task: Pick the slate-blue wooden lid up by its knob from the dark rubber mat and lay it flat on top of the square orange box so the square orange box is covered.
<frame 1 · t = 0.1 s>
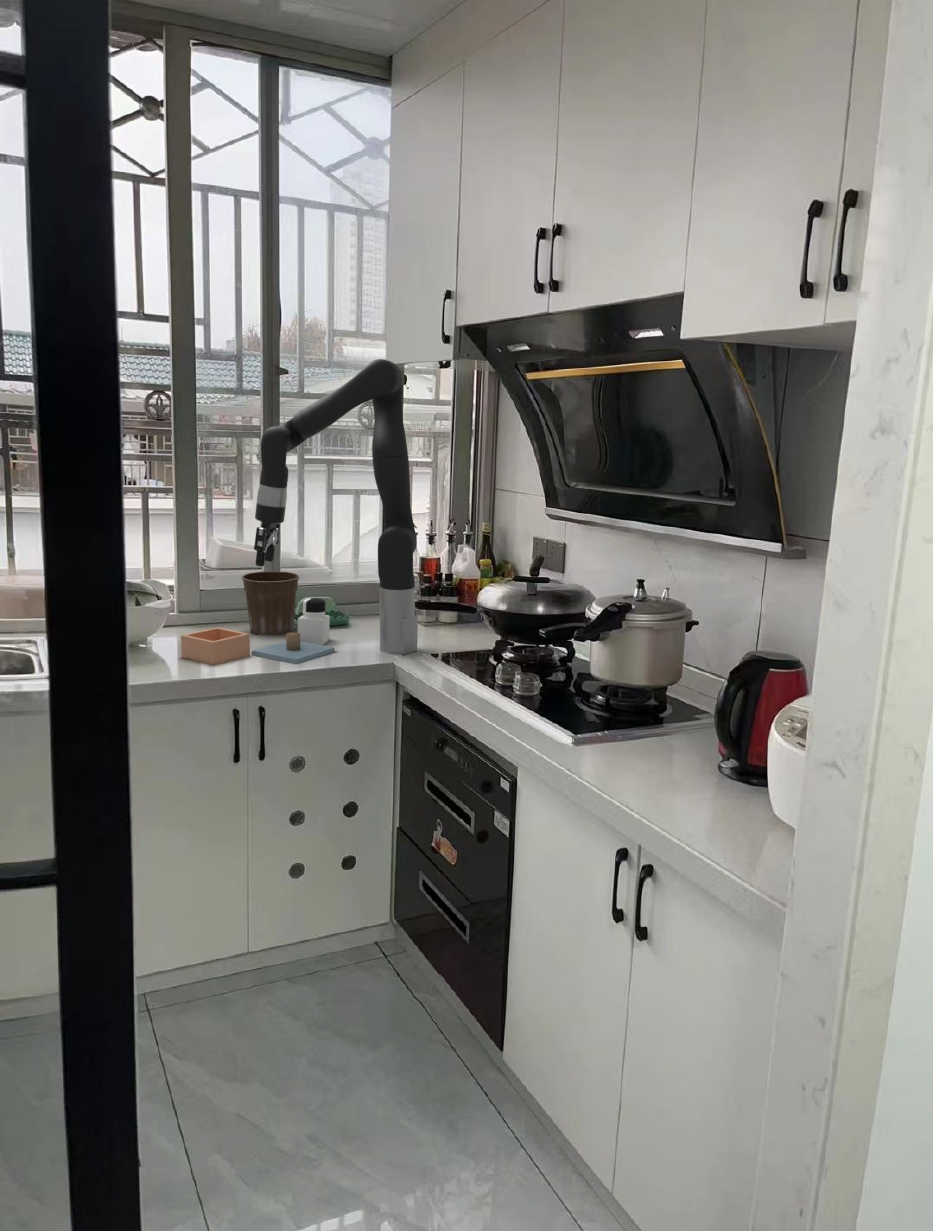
hand: (264, 563, 257), 22 cm above the countertop, tool pointing down, fingers open, 8 cm apart
square orange box: (216, 657, 247), on the countertop
medicine bottle: (313, 642, 265), on the countertop, touching mat
lid: (293, 653, 251), resting on mat
plant pot: (271, 631, 278), on the countertop
mat: (294, 654, 252), on the countertop
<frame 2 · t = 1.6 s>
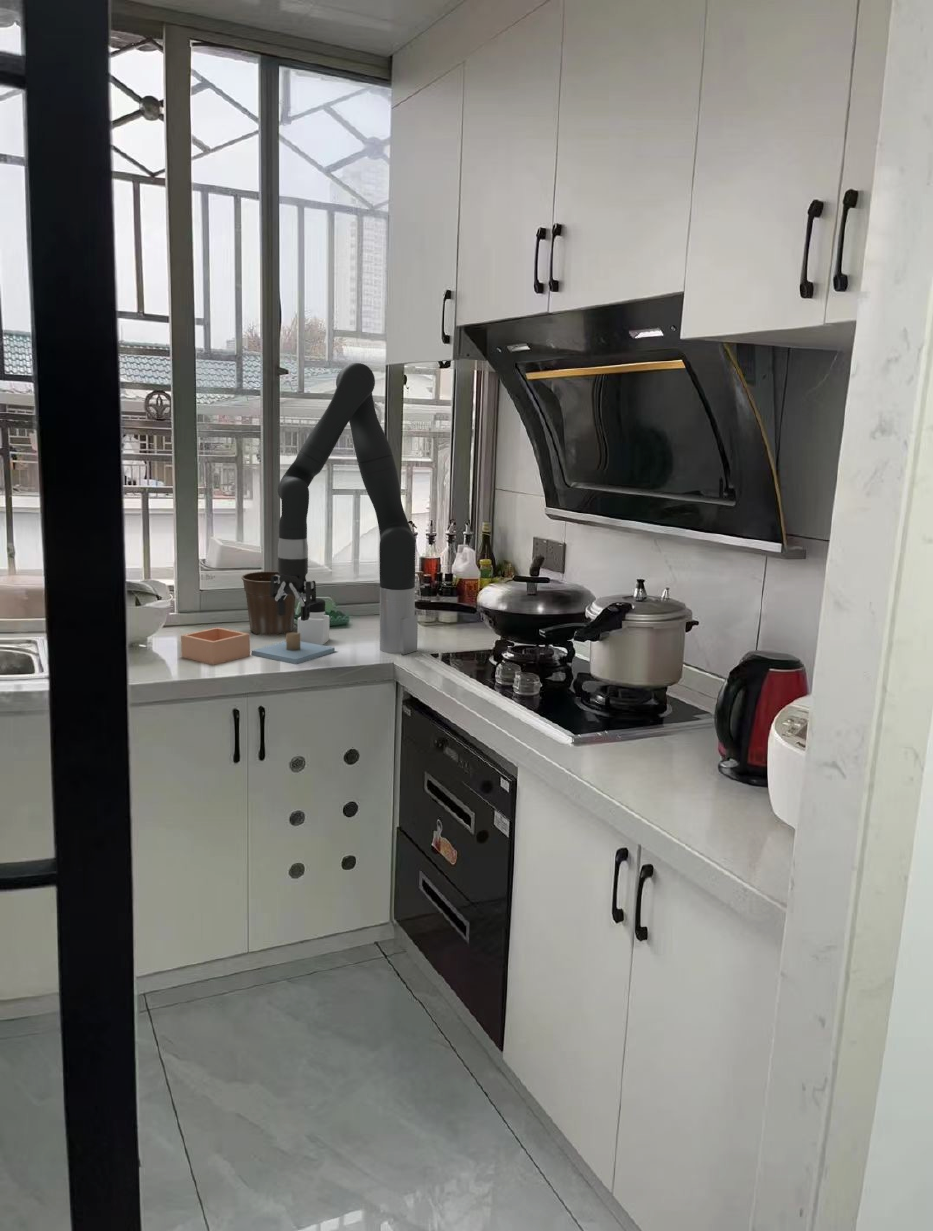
hand: (292, 617, 250), 10 cm above the countertop, tool pointing down, fingers open, 8 cm apart
nothing on the countertop moved.
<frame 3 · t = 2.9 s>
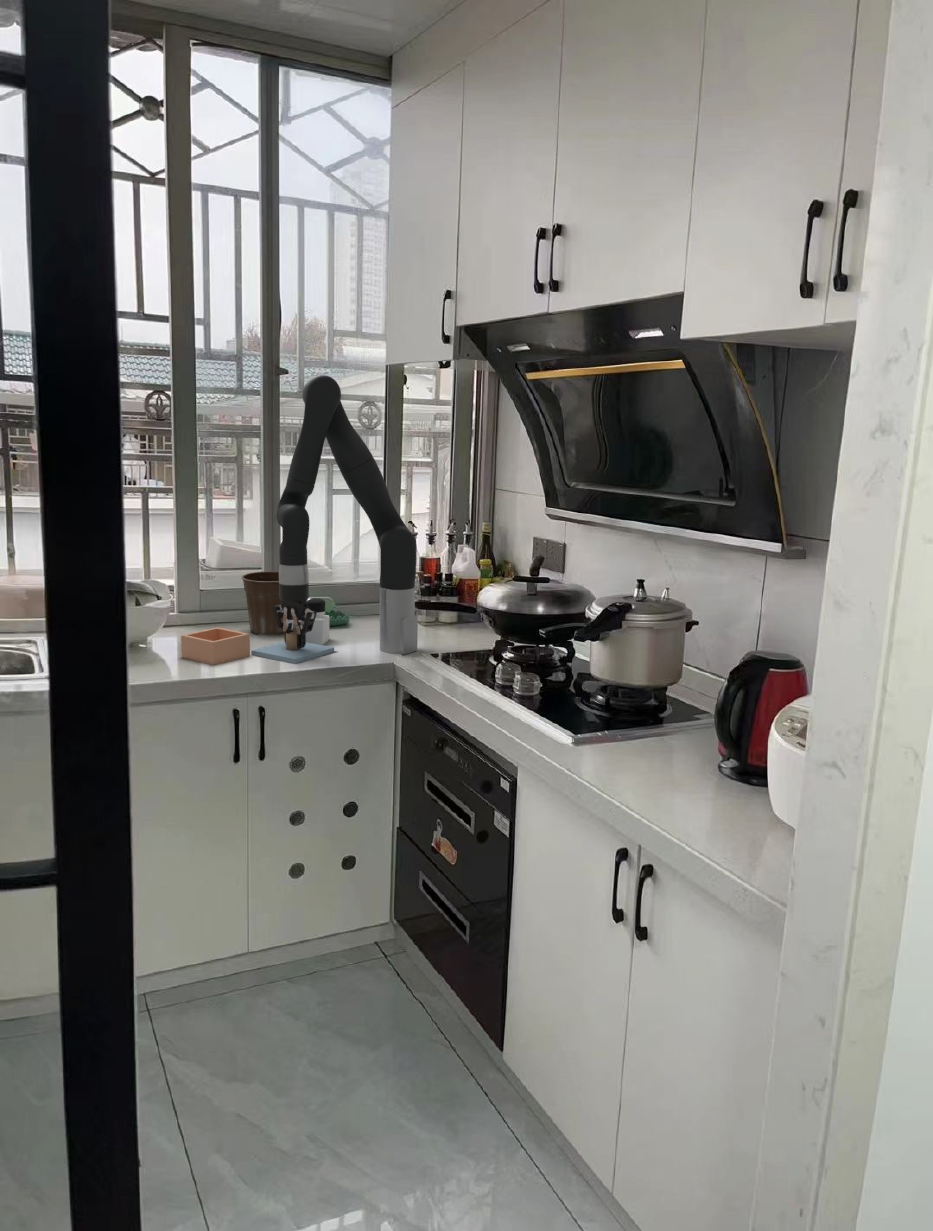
hand: (295, 646, 252), 2 cm above the countertop, tool pointing down, fingers closed on lid, 3 cm apart
lid: (293, 653, 251), resting on mat, touching gripper
everything else where it was.
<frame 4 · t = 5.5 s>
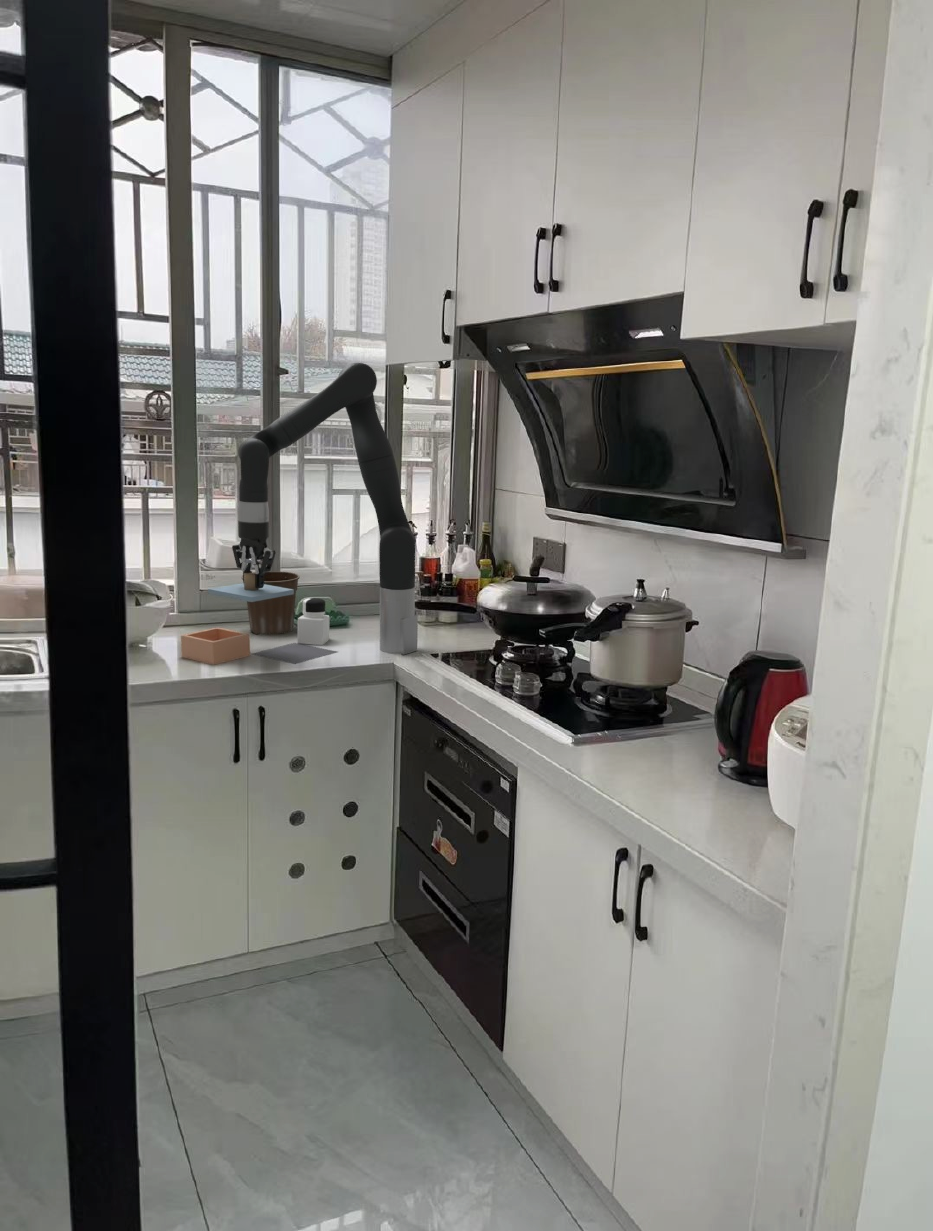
hand: (253, 586, 246), 18 cm above the countertop, tool pointing down, fingers closed on lid, 3 cm apart
lid: (251, 593, 246), point 16 cm above the countertop, touching gripper
everything else where it was.
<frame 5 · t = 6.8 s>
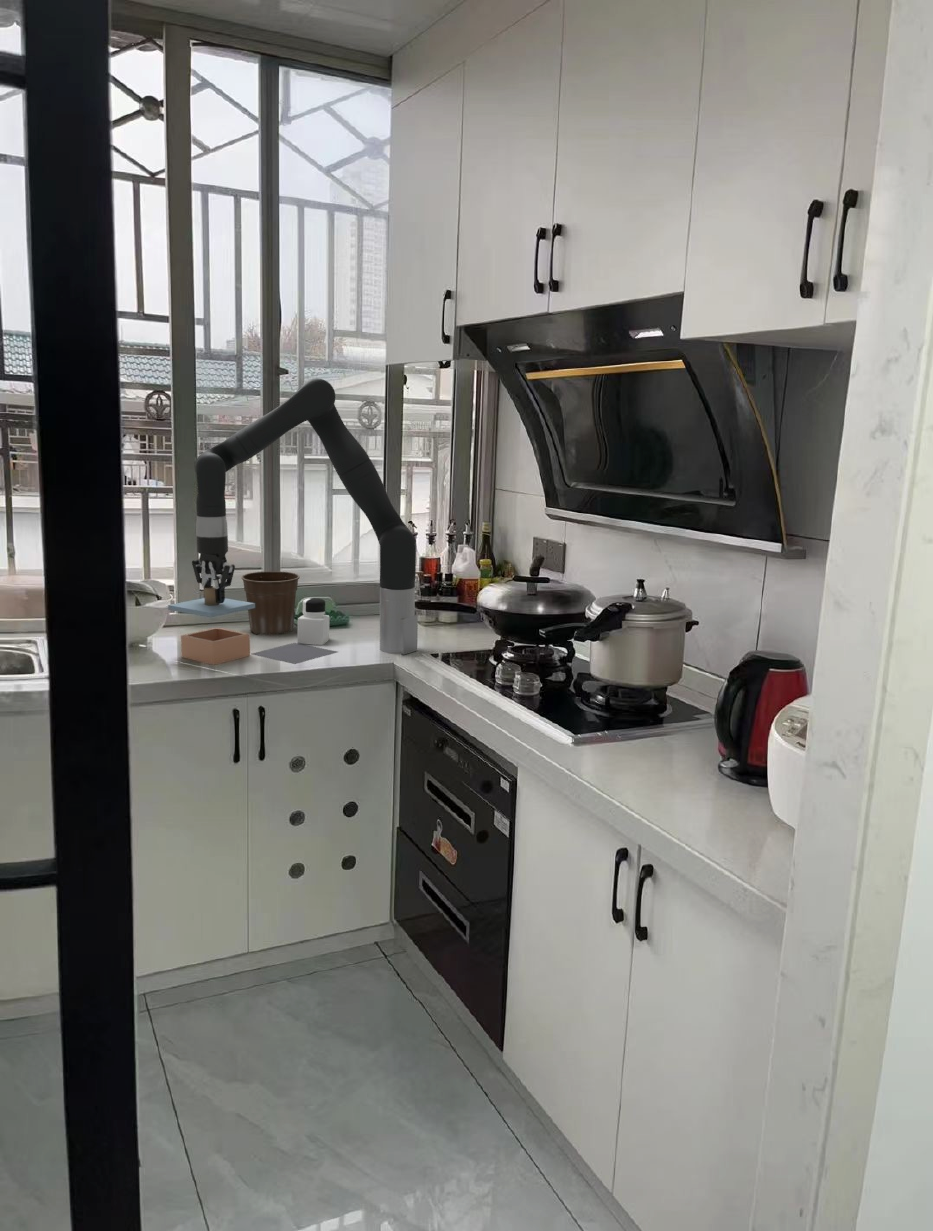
hand: (214, 601, 244), 15 cm above the countertop, tool pointing down, fingers closed on lid, 3 cm apart
lid: (212, 608, 244), point 13 cm above the countertop, touching gripper
everything else where it was.
when the fingers open (9 cm above the countertop, at t = 8.0 s): lid drops 1 cm, resting on square orange box.
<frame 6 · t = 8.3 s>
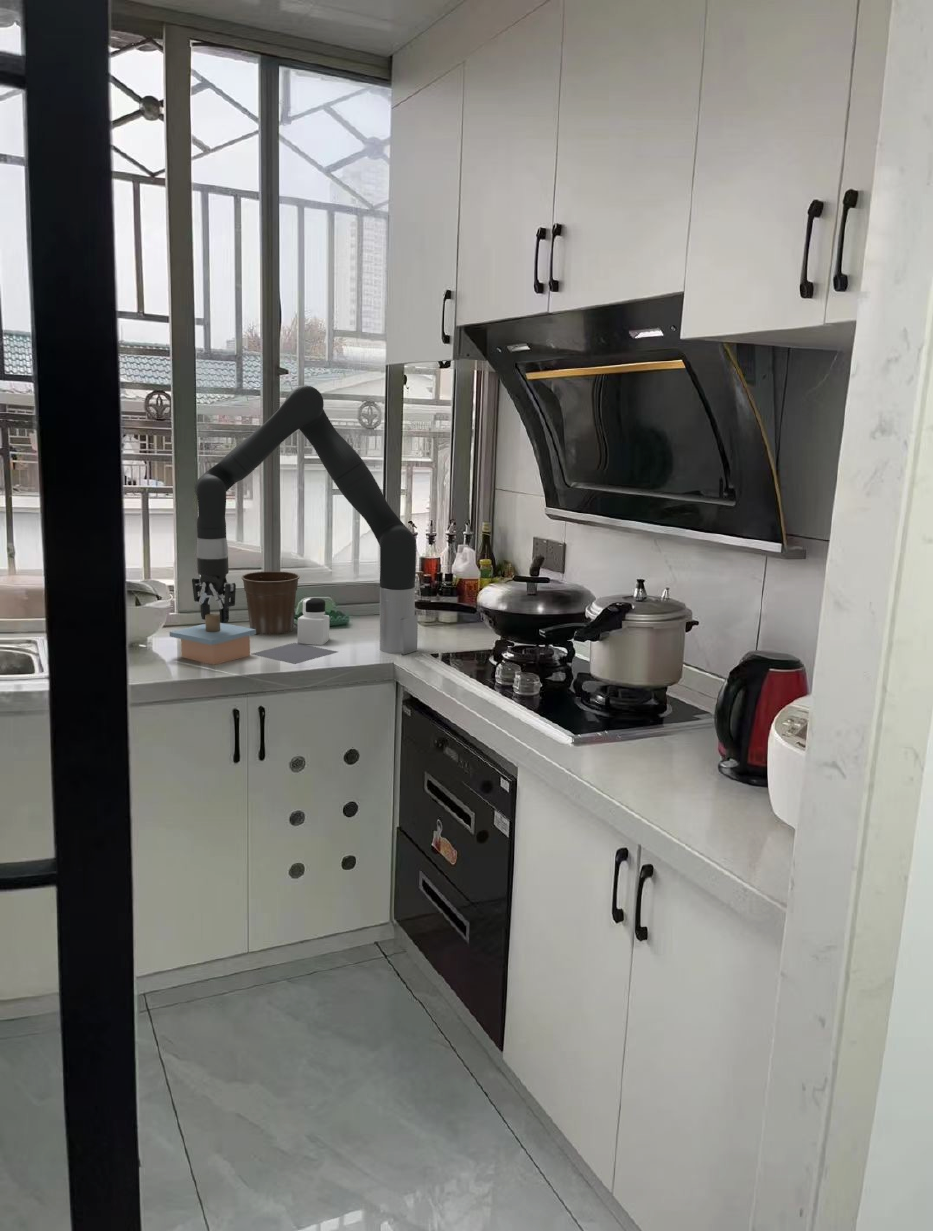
hand: (214, 620, 245), 10 cm above the countertop, tool pointing down, fingers open, 6 cm apart
lid: (213, 635, 245), point 6 cm above the countertop, touching square orange box
everything else where it was.
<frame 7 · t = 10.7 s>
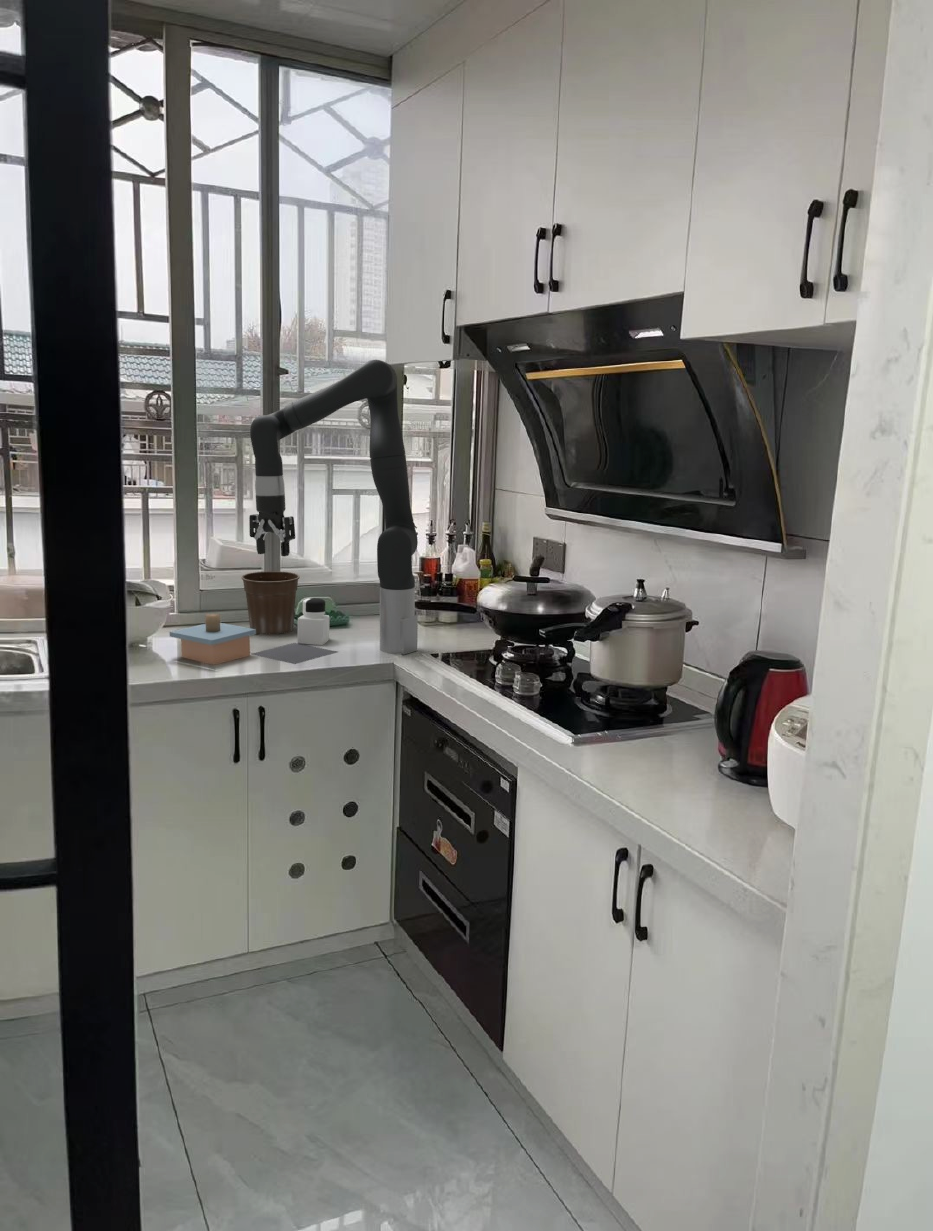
hand: (273, 554, 256), 25 cm above the countertop, tool pointing down, fingers open, 8 cm apart
nothing on the countertop moved.
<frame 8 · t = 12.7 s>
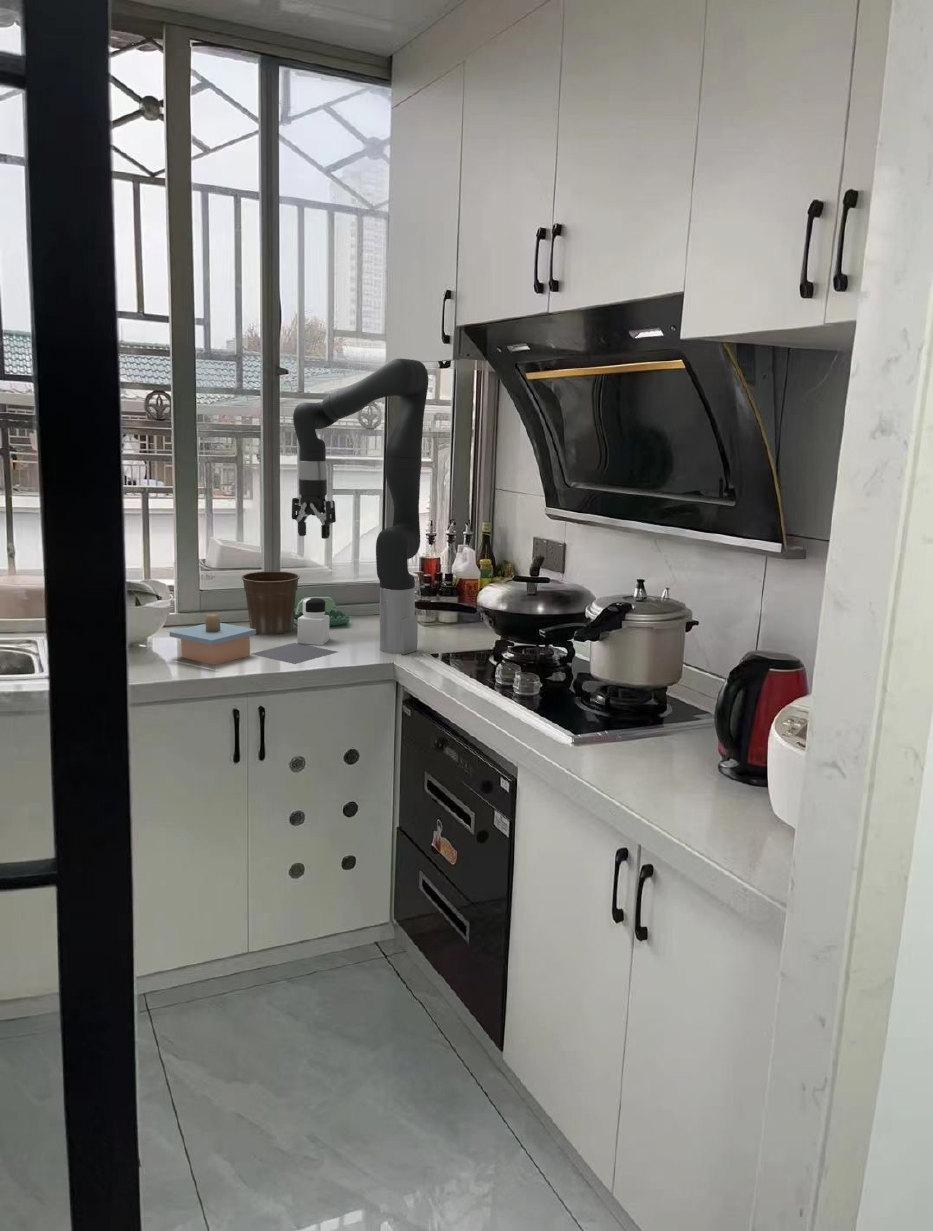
hand: (313, 537, 266), 28 cm above the countertop, tool pointing down, fingers open, 8 cm apart
nothing on the countertop moved.
at the end: lid 0.7 cm from the square orange box (horizontally); lid point 6.0 cm above the countertop; lid tilted 0° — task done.
